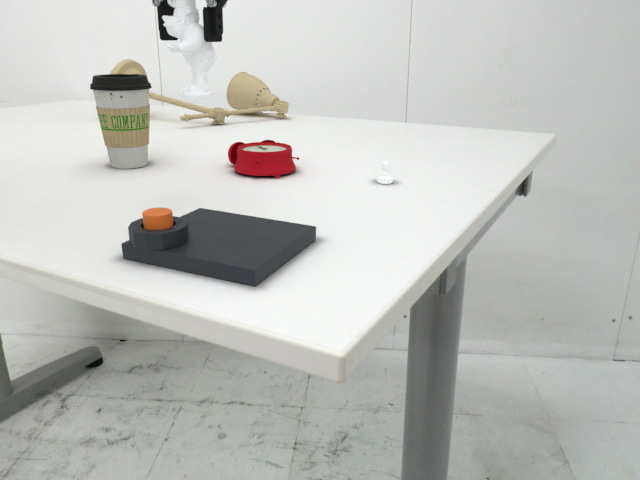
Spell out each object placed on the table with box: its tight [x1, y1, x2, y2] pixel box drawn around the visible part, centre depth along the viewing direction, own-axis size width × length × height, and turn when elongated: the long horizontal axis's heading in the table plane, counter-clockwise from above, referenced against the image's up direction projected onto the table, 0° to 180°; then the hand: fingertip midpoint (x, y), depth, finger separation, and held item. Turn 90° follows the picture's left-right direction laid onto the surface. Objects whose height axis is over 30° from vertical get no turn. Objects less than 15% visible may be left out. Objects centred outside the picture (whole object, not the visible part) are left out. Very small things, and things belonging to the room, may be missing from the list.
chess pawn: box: [376, 160, 394, 185], centre depth 90 cm, size 3×3×4 cm
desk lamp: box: [109, 58, 290, 125], centre depth 150 cm, size 15×35×40 cm
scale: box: [121, 207, 317, 287], centre depth 62 cm, size 16×14×4 cm
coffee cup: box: [89, 73, 153, 170], centre depth 97 cm, size 10×10×15 cm
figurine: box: [162, 0, 217, 101], centre depth 73 cm, size 9×7×12 cm
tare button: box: [141, 207, 174, 230], centre depth 59 cm, size 3×3×2 cm
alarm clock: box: [227, 139, 300, 179], centre depth 98 cm, size 10×6×15 cm
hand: (191, 39), depth 73 cm, fingers closed on figurine, 6 cm apart
